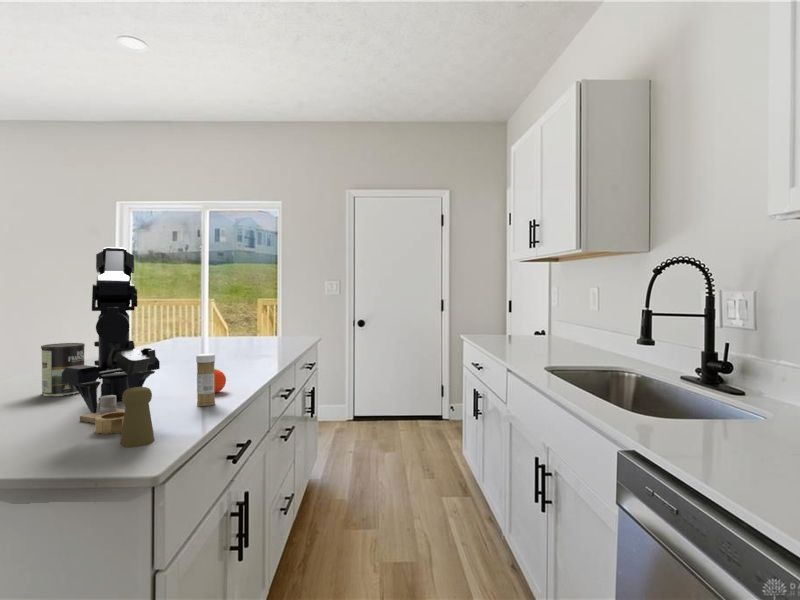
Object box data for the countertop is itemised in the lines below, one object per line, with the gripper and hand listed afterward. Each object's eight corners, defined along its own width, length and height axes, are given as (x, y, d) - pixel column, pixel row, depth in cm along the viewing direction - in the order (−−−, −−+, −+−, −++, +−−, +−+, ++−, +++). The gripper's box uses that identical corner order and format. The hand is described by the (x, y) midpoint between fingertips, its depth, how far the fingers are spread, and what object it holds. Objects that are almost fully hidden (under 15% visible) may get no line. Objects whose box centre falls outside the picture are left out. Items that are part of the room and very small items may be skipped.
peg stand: (112, 412, 114) (112, 391, 114) (135, 416, 111) (135, 394, 111) (79, 421, 106) (79, 398, 106) (103, 425, 103) (103, 402, 103)
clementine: (200, 390, 139) (200, 367, 139) (224, 388, 142) (224, 365, 142) (201, 396, 132) (201, 371, 131) (227, 394, 134) (227, 369, 134)
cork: (130, 449, 88) (129, 392, 88) (113, 443, 91) (113, 388, 91) (160, 440, 93) (160, 386, 93) (144, 435, 97) (143, 383, 96)
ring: (118, 422, 105) (118, 409, 105) (140, 426, 103) (140, 413, 102) (88, 431, 99) (87, 417, 99) (110, 435, 96) (110, 421, 96)
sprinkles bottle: (215, 402, 125) (215, 352, 125) (214, 406, 121) (214, 355, 120) (197, 403, 123) (196, 353, 123) (195, 407, 119) (195, 355, 119)
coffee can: (93, 389, 140) (92, 342, 139) (68, 397, 129) (67, 347, 129) (59, 388, 140) (59, 342, 139) (32, 396, 129) (31, 346, 129)
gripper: (97, 343, 89) (97, 423, 89) (177, 334, 106) (177, 402, 106) (59, 340, 93) (60, 417, 93) (142, 332, 110) (142, 397, 110)
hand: (114, 407), depth 101 cm, fingers open, 9 cm apart
